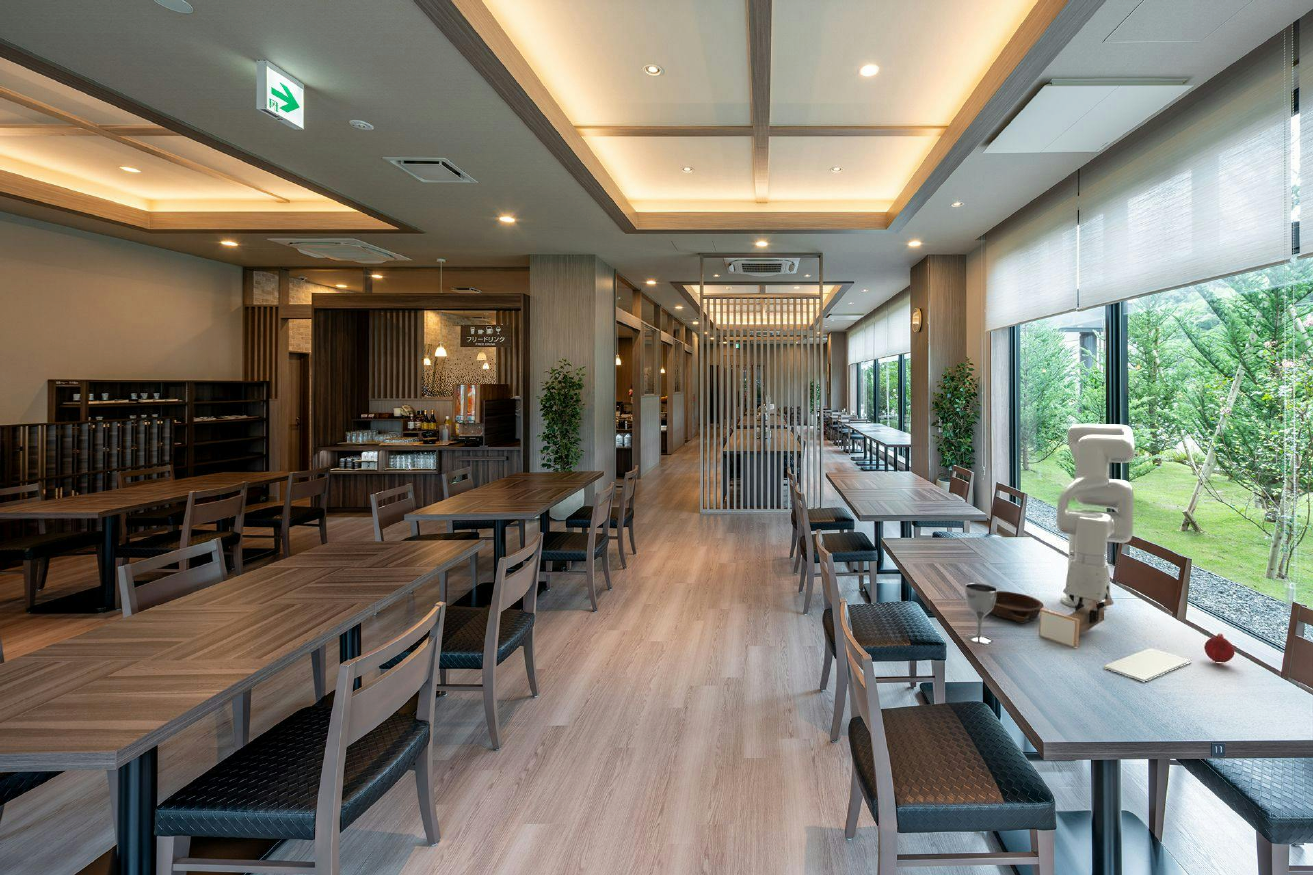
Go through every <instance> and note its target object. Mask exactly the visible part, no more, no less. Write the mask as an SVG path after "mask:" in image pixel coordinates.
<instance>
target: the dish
mask: <svg viewBox="0 0 1313 875" xmlns="http://www.w3.org/2000/svg"><path fill="white" fill-rule="evenodd" d="M1044 607H1045V604H1044V603H1043V602H1041V601H1040V600H1039V599H1037V598H1035V597H1032V596H1030V595H1026V594H1022V593H1019V592H1018V593H1017V592H1013V591H1012V592H1010V591H1004V590H997V599H996V603H995V606H994V608H993V610H992V611H991V612H990V613H989V614H991V615H994V616H997V617H999V618H1002V619H1006V620H1007V619H1008V620H1012V621H1015V622H1018V623H1027V622H1029V621H1033V620H1035V619H1037V618H1038V617H1039V616H1040V609H1042V608H1043V609H1044Z"/></svg>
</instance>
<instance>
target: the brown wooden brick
mask: <svg viewBox="0 0 1313 875" xmlns="http://www.w3.org/2000/svg"><path fill="white" fill-rule="evenodd" d="M1091 609H1092V602H1090V603H1089V604H1087V605H1085V606H1084V607H1082V608H1080V609H1078V610H1076V611H1075V610H1074V611H1073V612H1071V613H1069V614H1068V615H1067V616H1070V617H1073V618H1077V619H1080V623H1079V636H1080V635H1082V634H1083V633H1085V632H1087V631H1089V630H1090V629H1092V628H1094V627H1095V626H1097V625H1099V624H1100V623H1103V621H1105V609H1104V607H1103V608H1101V609H1100V610H1099V620H1098V621H1097V622H1096V623H1093V624H1091V623H1089V618H1090V610H1091Z"/></svg>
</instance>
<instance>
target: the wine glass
mask: <svg viewBox="0 0 1313 875" xmlns="http://www.w3.org/2000/svg"><path fill="white" fill-rule="evenodd" d="M964 589H965V590H964V592H965V593H964V594H965V601H966V605H967V606H968V608H969V610H970V611H972V614H974V615H975V618H976V622H977V623H976V624H977V632H976V633H977V634H975V633H970V634H966V635H965V636H964V638H965V639H966V640H967V641H969V642H971V643H975V644H979V645H991V644H993V643H994V641H993V639H992V638H991V637H988V636H986V635H982V634H981V633H982V632H981V631H982V624H983V620H984V619H985V617H986V616H987V615H989V614H991V613H990V612H991V611H992V610H993V608H994V606H995V603H996V599H997V591H998V589H997V588H996V587H995V586H993V585H990V584H984V583H979V582H970V583H966V584H965V588H964Z"/></svg>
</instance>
